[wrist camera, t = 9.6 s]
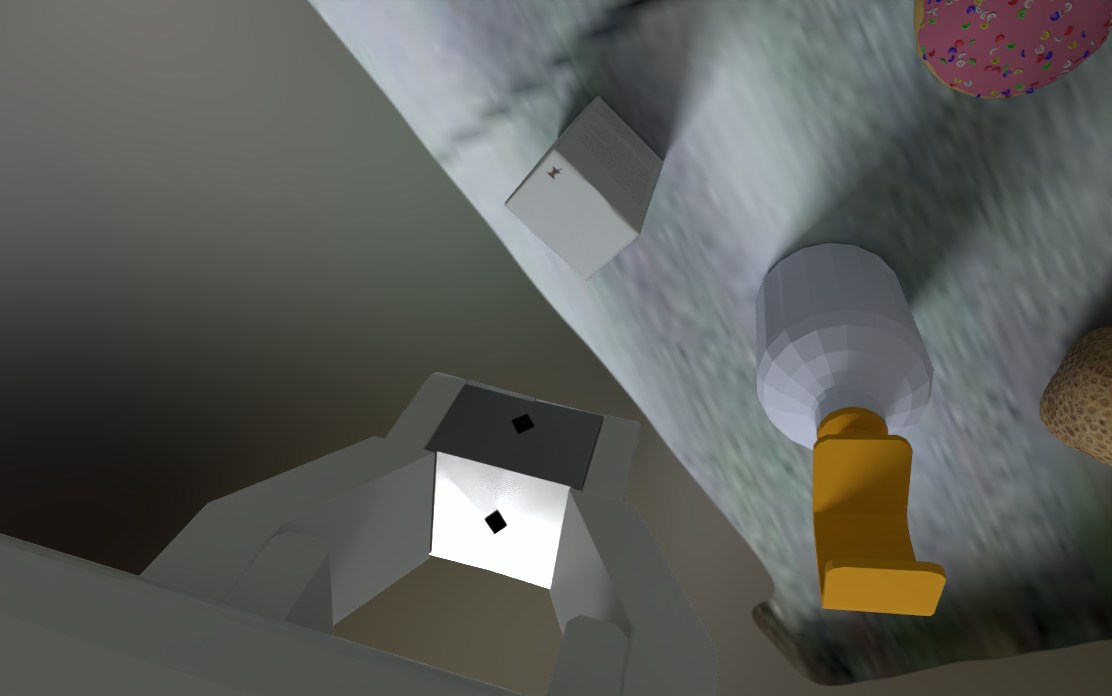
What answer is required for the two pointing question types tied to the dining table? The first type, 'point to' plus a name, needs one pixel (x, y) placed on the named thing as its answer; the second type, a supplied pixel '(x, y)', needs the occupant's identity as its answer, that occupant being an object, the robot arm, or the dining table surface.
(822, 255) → the soap bottle
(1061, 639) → the dining table surface
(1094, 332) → the natural sponge
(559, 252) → the skincare box
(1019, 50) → the cupcake
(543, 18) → the dining table surface
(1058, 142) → the dining table surface
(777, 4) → the dining table surface
